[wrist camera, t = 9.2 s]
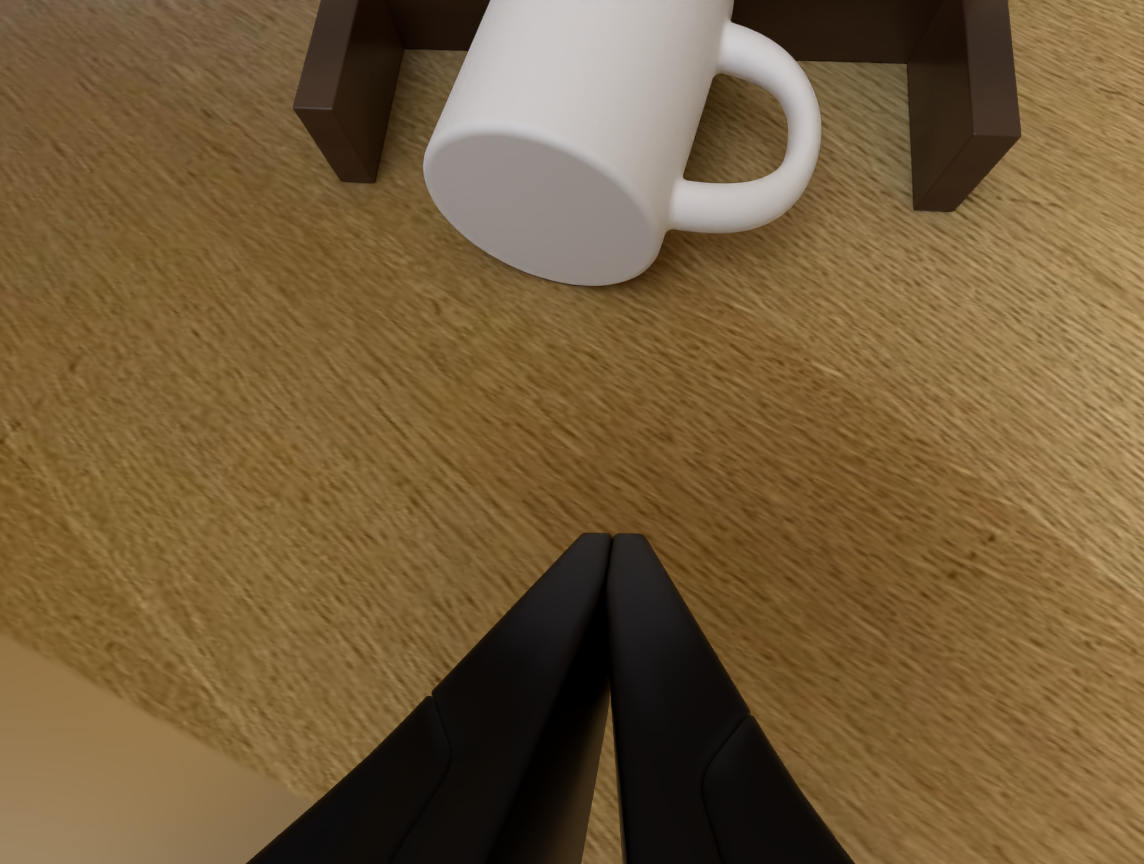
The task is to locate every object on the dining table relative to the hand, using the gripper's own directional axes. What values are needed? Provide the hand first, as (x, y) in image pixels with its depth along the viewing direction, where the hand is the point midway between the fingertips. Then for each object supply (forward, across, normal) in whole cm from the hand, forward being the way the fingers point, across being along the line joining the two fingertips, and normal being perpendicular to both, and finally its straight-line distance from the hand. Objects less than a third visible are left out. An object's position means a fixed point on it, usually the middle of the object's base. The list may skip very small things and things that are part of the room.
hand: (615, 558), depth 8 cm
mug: (+20, 0, -3) cm, 20 cm away
